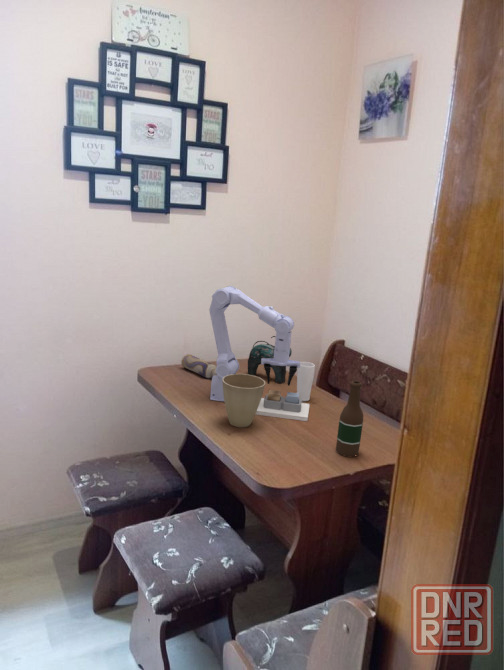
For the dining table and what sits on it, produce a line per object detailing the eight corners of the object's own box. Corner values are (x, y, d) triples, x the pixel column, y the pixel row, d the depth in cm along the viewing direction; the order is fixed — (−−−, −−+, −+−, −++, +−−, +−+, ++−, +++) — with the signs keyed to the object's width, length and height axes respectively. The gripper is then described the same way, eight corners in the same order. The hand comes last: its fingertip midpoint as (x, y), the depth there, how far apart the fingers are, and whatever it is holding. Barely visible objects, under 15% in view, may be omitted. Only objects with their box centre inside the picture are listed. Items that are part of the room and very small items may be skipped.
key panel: (253, 414, 199) (254, 402, 198) (258, 400, 212) (259, 390, 211) (307, 421, 196) (308, 409, 195) (309, 407, 210) (310, 396, 209)
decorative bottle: (179, 369, 244) (180, 355, 242) (192, 366, 249) (193, 352, 247) (216, 385, 226) (217, 370, 224) (229, 382, 231) (231, 367, 230)
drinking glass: (310, 403, 214) (314, 367, 210) (293, 401, 215) (297, 365, 212) (311, 397, 220) (315, 363, 217) (295, 395, 222) (299, 360, 218)
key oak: (267, 399, 202) (268, 393, 201) (268, 395, 206) (269, 389, 205) (279, 401, 201) (279, 394, 201) (280, 397, 206) (280, 391, 205)
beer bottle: (332, 446, 178) (341, 377, 172) (355, 447, 178) (364, 378, 173) (338, 457, 170) (347, 385, 164) (362, 458, 171) (372, 386, 165)
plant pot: (230, 434, 180) (233, 389, 176) (212, 417, 193) (215, 375, 189) (269, 429, 187) (273, 385, 183) (249, 412, 200) (253, 372, 196)
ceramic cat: (289, 382, 237) (293, 338, 232) (282, 386, 232) (286, 341, 227) (251, 372, 247) (255, 329, 242) (243, 375, 242) (247, 332, 237)
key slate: (286, 402, 201) (286, 395, 200) (287, 398, 205) (287, 391, 205) (297, 403, 200) (298, 397, 200) (298, 399, 205) (299, 393, 204)
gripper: (262, 350, 196) (259, 385, 199) (302, 354, 196) (298, 389, 199) (262, 345, 202) (259, 379, 206) (300, 348, 203) (297, 382, 206)
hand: (278, 383), depth 203 cm, fingers open, 7 cm apart
